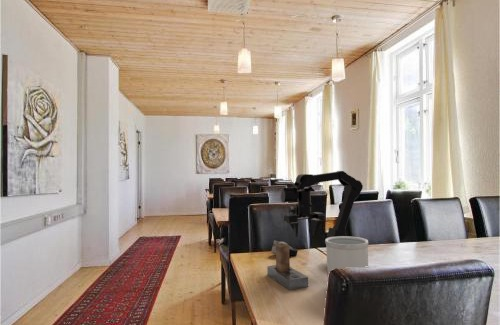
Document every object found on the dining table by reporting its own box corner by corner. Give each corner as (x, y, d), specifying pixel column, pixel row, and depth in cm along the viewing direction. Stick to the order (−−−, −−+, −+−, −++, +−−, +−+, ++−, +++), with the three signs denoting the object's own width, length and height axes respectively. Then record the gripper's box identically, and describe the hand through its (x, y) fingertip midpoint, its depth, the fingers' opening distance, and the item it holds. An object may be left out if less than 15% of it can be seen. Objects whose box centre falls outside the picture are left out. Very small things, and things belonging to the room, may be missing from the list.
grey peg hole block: (267, 274, 125) (267, 265, 125) (284, 272, 128) (284, 263, 128) (289, 290, 108) (289, 280, 108) (308, 286, 111) (308, 276, 111)
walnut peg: (285, 275, 124) (284, 243, 124) (290, 278, 120) (289, 245, 120) (276, 277, 122) (275, 244, 122) (281, 280, 118) (280, 246, 119)
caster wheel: (298, 258, 156) (290, 260, 147) (279, 251, 162) (270, 253, 154) (301, 246, 156) (293, 247, 148) (282, 239, 162) (273, 240, 154)
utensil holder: (319, 284, 114) (317, 237, 114) (353, 279, 118) (352, 234, 118) (341, 300, 99) (339, 246, 100) (379, 294, 103) (377, 242, 104)
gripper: (311, 199, 148) (312, 231, 148) (277, 201, 141) (278, 235, 141) (325, 201, 138) (326, 235, 138) (289, 203, 131) (290, 239, 131)
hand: (305, 236), depth 137 cm, fingers open, 9 cm apart
